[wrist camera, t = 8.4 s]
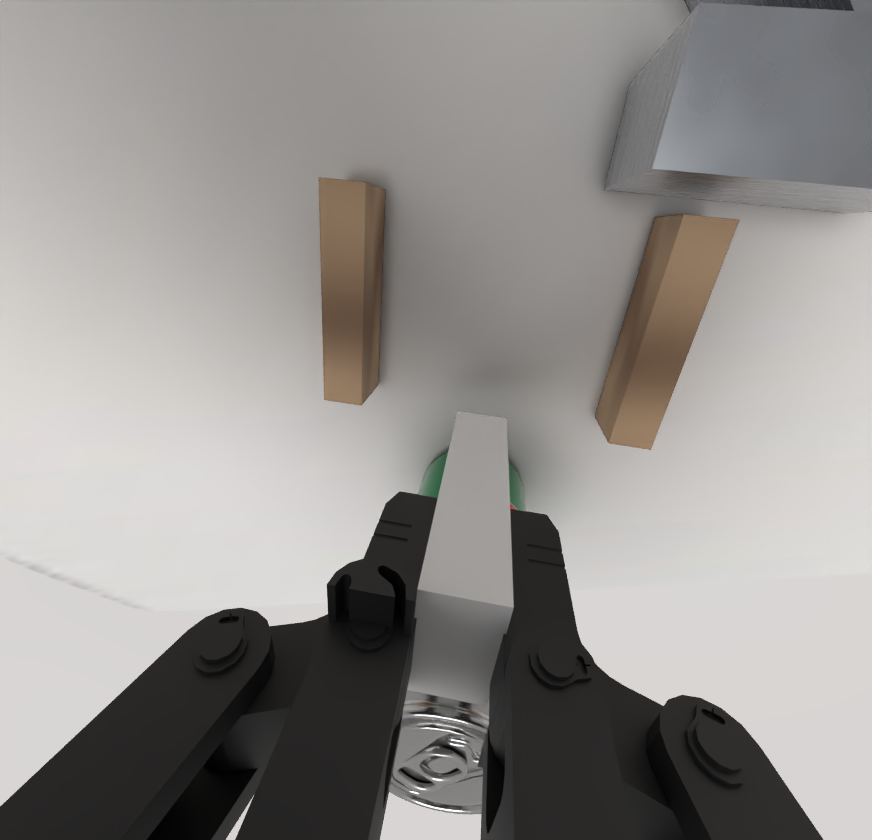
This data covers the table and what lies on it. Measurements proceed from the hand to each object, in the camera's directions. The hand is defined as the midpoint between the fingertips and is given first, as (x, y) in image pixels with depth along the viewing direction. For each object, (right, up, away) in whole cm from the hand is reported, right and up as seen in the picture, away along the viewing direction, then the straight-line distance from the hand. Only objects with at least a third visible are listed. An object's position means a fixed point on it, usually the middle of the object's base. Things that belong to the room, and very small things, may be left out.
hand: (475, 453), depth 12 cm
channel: (+1, +6, +4) cm, 7 cm away
